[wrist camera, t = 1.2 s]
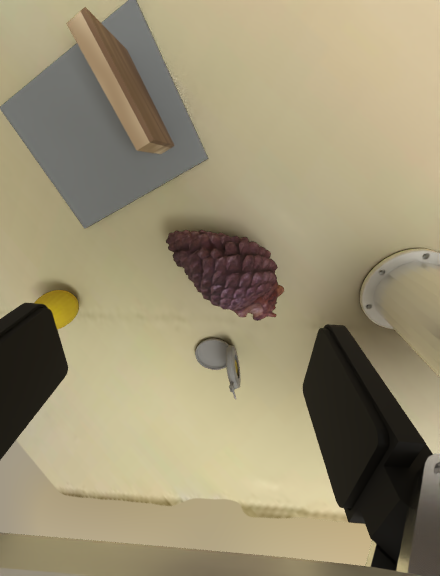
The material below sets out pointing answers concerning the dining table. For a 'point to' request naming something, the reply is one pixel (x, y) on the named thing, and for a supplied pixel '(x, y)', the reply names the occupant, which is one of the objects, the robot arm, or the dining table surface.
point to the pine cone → (228, 271)
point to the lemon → (60, 306)
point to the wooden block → (121, 83)
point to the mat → (102, 126)
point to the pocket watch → (220, 359)
